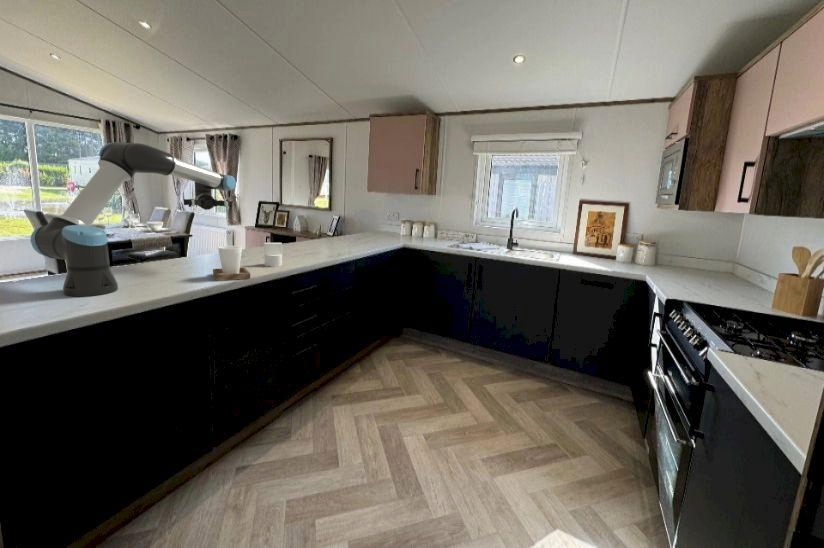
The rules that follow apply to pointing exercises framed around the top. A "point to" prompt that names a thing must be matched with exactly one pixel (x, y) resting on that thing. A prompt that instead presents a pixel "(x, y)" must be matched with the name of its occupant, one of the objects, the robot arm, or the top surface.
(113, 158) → the robot arm
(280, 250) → the glass of milk
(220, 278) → the walnut frame
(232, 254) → the foam cup
